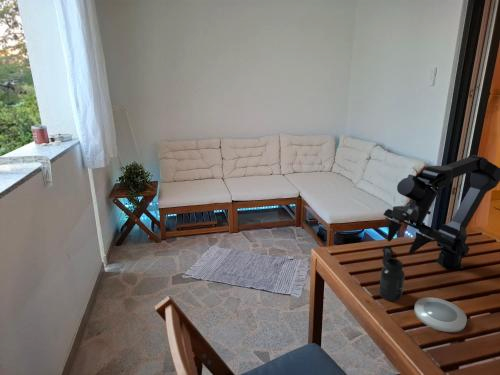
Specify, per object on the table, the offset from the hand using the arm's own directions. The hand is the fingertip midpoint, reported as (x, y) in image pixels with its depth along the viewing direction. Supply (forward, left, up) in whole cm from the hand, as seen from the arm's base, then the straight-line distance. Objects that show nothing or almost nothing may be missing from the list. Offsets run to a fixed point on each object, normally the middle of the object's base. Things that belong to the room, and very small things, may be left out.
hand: (398, 246), depth 106 cm
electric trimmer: (-5, -14, -14) cm, 20 cm away
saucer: (-4, +18, -13) cm, 23 cm away
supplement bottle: (+5, +7, -13) cm, 16 cm away
